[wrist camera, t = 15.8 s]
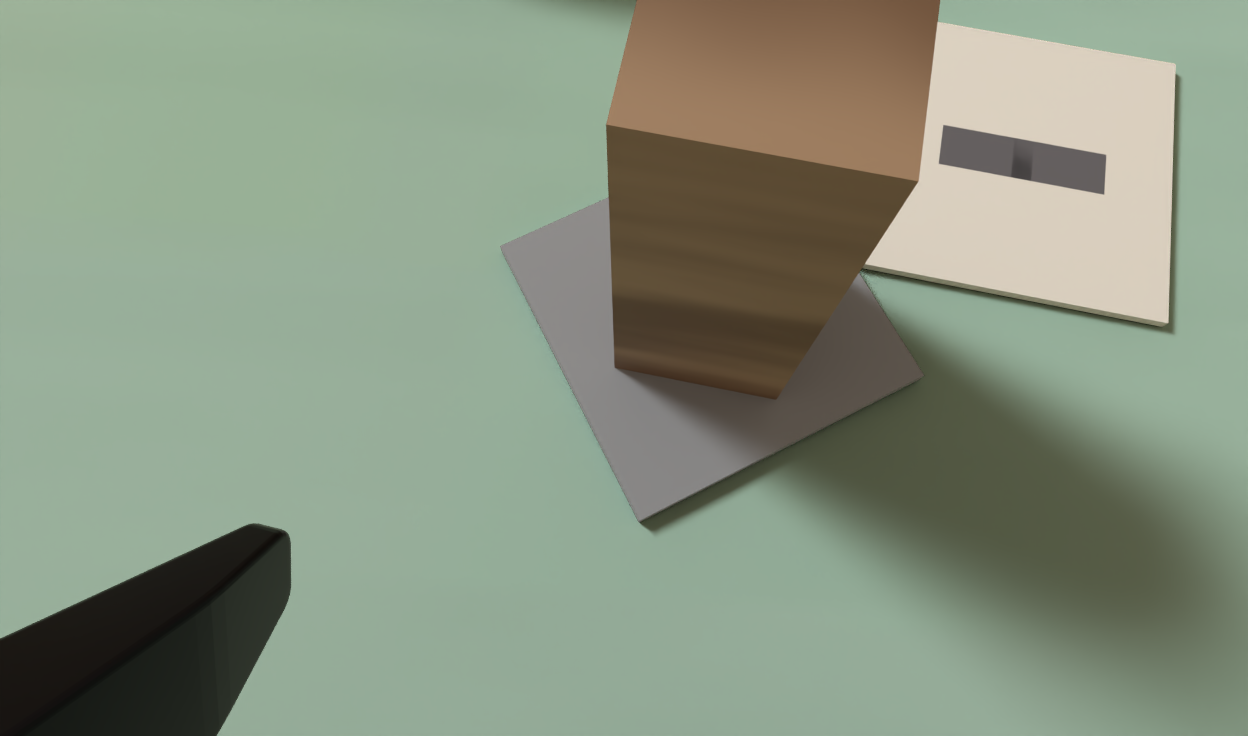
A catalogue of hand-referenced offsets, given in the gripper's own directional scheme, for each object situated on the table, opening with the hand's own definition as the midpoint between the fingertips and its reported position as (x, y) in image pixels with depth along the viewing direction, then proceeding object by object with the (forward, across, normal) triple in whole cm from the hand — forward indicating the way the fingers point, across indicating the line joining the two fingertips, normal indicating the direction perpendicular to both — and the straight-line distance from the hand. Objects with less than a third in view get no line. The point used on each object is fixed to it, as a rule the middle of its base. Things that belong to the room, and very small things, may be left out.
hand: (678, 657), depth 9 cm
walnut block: (+16, 0, +2) cm, 16 cm away
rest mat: (+16, 0, +3) cm, 16 cm away
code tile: (+21, -8, -2) cm, 23 cm away
